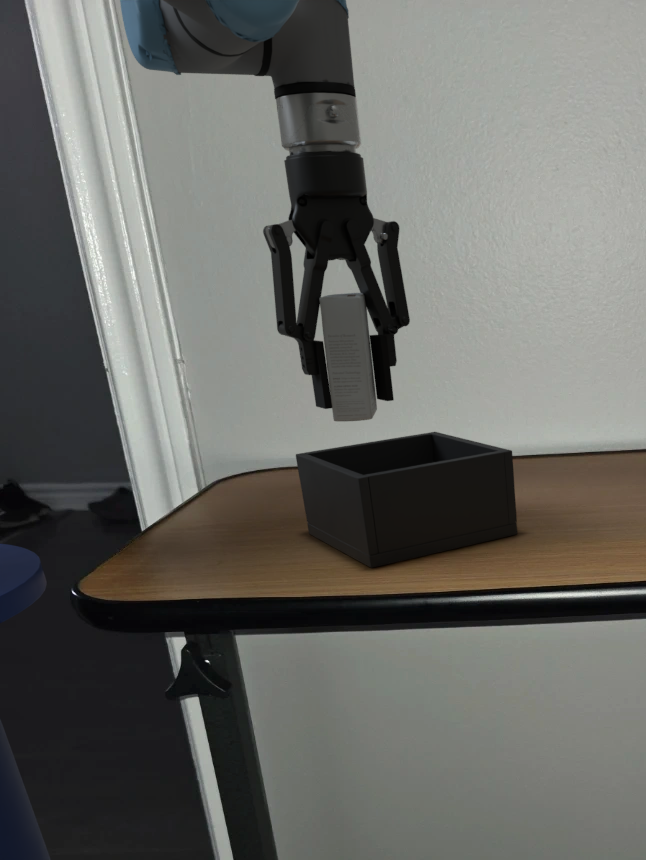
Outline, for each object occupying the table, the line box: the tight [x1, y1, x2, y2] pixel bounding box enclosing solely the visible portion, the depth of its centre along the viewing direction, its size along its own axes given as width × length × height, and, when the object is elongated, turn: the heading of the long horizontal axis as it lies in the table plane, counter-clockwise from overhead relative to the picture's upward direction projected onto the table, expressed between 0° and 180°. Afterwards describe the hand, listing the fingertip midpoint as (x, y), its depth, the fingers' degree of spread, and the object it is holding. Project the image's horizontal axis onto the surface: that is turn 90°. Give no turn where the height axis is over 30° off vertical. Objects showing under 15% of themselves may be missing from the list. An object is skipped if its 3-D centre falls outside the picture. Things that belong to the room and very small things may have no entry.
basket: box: [295, 431, 518, 569], centre depth 79 cm, size 14×14×7 cm
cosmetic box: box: [319, 292, 378, 422], centre depth 97 cm, size 6×4×12 cm
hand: (355, 403), depth 99 cm, fingers closed on cosmetic box, 6 cm apart
